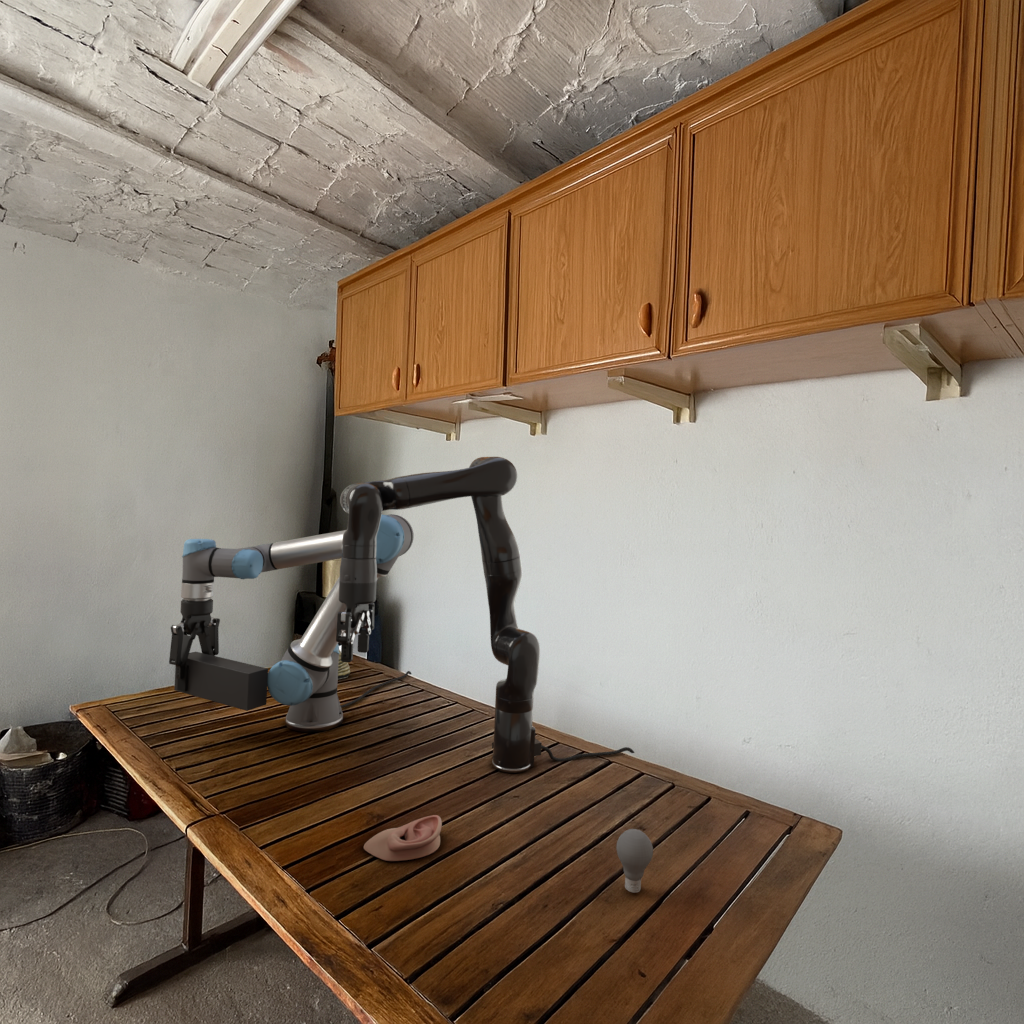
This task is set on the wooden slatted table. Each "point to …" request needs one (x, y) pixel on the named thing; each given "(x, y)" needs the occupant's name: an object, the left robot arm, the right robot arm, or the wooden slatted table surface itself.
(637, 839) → the light bulb
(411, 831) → the anatomical model
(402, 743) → the wooden slatted table surface
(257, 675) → the bar
